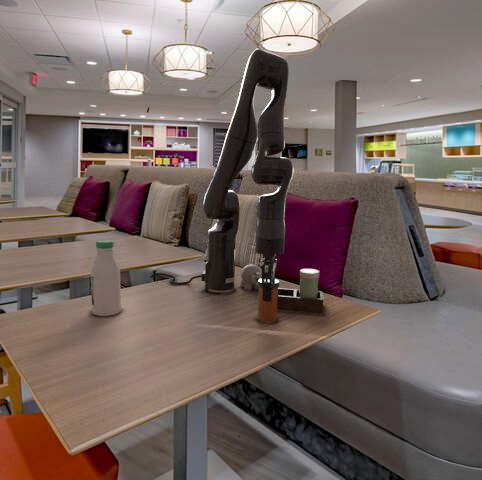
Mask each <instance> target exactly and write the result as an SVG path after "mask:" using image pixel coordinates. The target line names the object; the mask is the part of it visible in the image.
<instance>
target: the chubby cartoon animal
mask: <svg viewBox="0 0 482 480" xmlns="http://www.w3.org/2000/svg"><path fill="white" fill-rule="evenodd" d="M261 270H262V268H261V267H259V266H258V265H256V264H247V265H245V266H244V267H243V268H242V270H241V272H240V278H241V280H240V283H239V284H240V287H241V288H244V290H246V291H252V290H253V289H254V290H259V287H258V280H259V279H262V277H261Z"/></svg>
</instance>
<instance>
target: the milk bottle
mask: <svg viewBox="0 0 482 480" xmlns="http://www.w3.org/2000/svg"><path fill="white" fill-rule="evenodd" d="M114 243H115V242H114V241H113V240H110V239H103V240H102V239H101V240H96V242H95V250H96V256H95V259H94V261H93V263H92V266H91V269H90V292H91V293H90V294H91V311H92V312H91V313H92V314H93V315H95V316H99V317H109V316H114V315H116V314H119V313H120V312H121V310H122V295H121V291H122V289H121V270H120V265H119V264H118V261H117V260H116V257H115V254H114V249H115V248H114V246H115V244H114Z"/></svg>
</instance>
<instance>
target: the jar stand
mask: <svg viewBox="0 0 482 480" xmlns="http://www.w3.org/2000/svg"><path fill="white" fill-rule="evenodd" d="M299 291H300V289H297V288H282V287H279V288H278V308H277V311H288V312H298V313H299V312H300V313H310V314H321V315H323V313H324V311H323V310H324V292H323V291H322V290H318V294H317V299H316V298H304V297H299Z"/></svg>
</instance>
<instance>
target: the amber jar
mask: <svg viewBox="0 0 482 480" xmlns="http://www.w3.org/2000/svg"><path fill="white" fill-rule="evenodd" d="M265 282H269V279H265ZM261 283H262V279H259V280H258V287H259V289H258V297H257V299H258V301H257V319H258V320H259V321H261V322H266V323H269V322H271V323H272V322H273V323H274V322H275V321H277V320H278V310H277V308H278V288H280V280H279V279H277V278H275V279H273V280H272V284H273V286H272V292H271V301H263V287H262V285H261Z"/></svg>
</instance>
